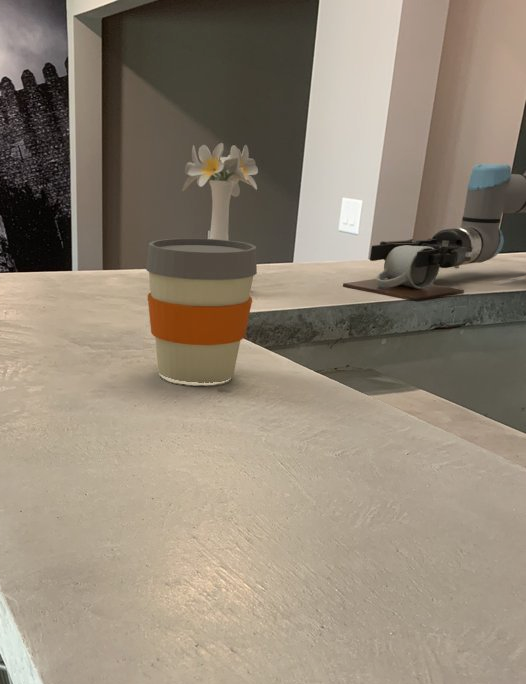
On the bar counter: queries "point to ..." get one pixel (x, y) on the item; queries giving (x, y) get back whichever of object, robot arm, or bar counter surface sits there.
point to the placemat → (404, 290)
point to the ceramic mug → (407, 269)
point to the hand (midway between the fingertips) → (394, 256)
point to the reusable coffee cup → (199, 305)
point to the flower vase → (221, 180)
